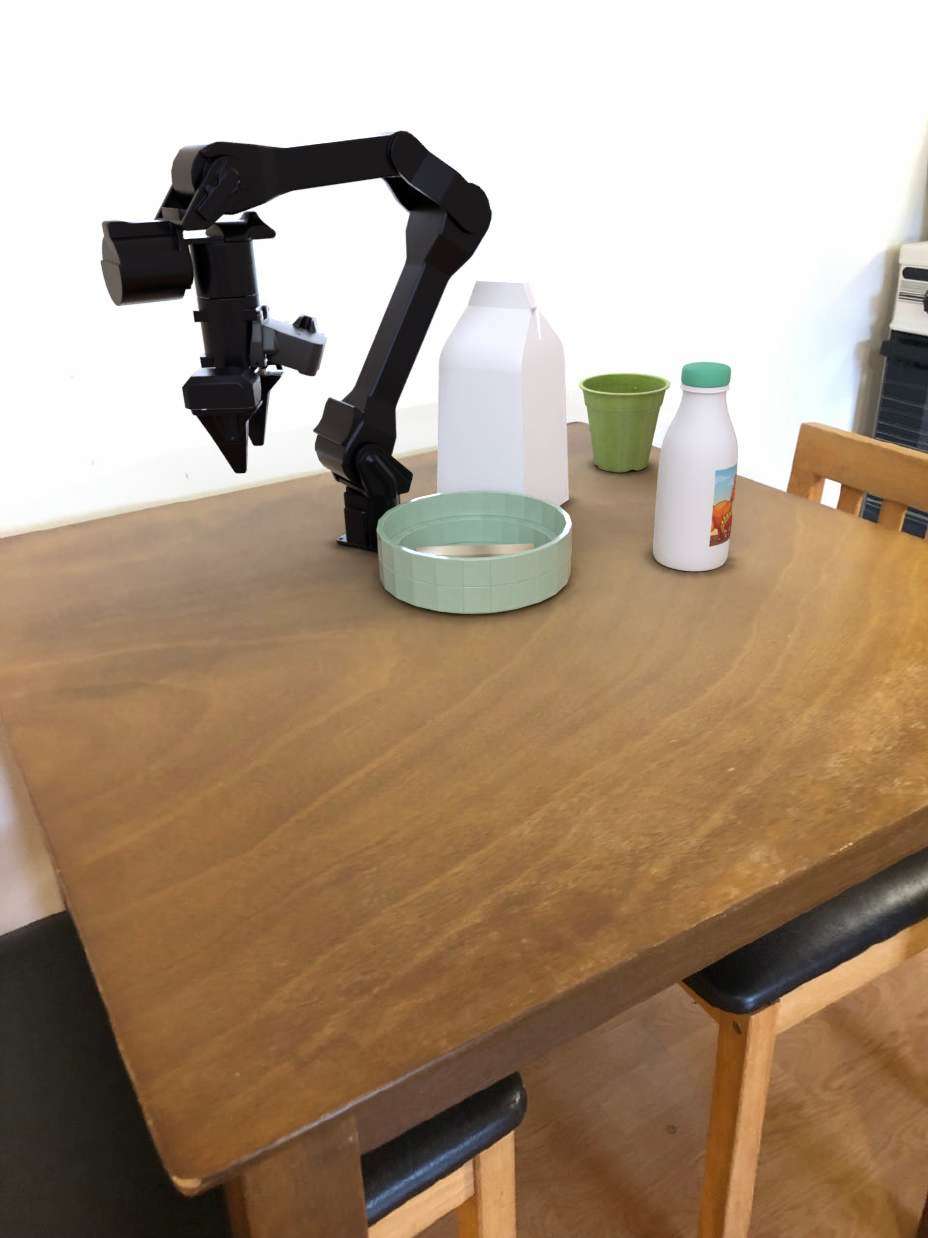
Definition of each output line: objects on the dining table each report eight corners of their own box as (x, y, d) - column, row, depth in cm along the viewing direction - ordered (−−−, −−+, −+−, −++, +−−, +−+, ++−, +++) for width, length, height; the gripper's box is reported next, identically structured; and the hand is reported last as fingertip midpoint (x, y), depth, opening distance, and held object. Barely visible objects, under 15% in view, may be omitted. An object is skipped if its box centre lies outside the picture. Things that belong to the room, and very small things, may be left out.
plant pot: (575, 452, 133) (578, 372, 128) (660, 453, 131) (666, 372, 126) (576, 478, 122) (579, 392, 117) (668, 479, 121) (675, 392, 116)
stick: (416, 577, 94) (415, 555, 93) (417, 568, 96) (415, 546, 95) (535, 574, 94) (535, 552, 93) (533, 564, 96) (533, 543, 95)
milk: (436, 512, 112) (427, 284, 101) (485, 484, 121) (481, 272, 109) (524, 529, 107) (525, 290, 95) (568, 499, 115) (574, 276, 103)
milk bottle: (684, 579, 93) (701, 377, 84) (637, 553, 99) (649, 363, 90) (743, 563, 96) (766, 367, 87) (694, 539, 103) (711, 354, 94)
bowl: (442, 530, 107) (440, 480, 104) (598, 559, 98) (601, 505, 96) (343, 595, 92) (338, 538, 89) (517, 635, 83) (517, 574, 81)
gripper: (301, 307, 78) (319, 486, 85) (327, 279, 94) (340, 431, 101) (167, 311, 78) (196, 490, 85) (217, 282, 94) (238, 433, 101)
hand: (250, 458), depth 93 cm, fingers open, 9 cm apart
